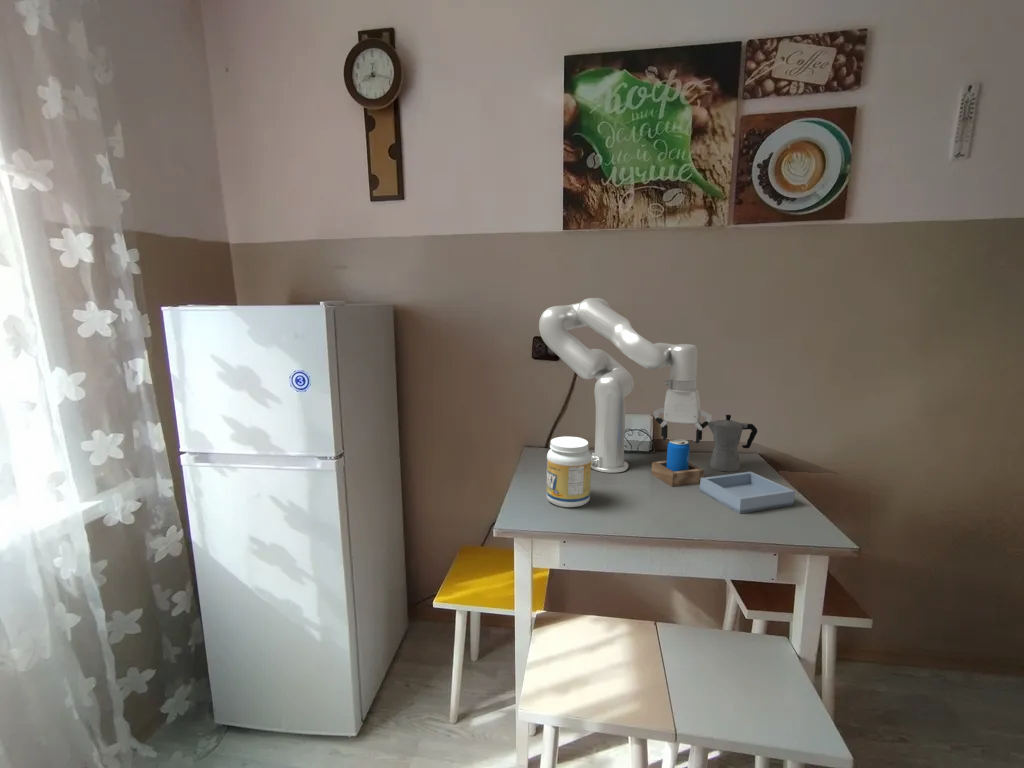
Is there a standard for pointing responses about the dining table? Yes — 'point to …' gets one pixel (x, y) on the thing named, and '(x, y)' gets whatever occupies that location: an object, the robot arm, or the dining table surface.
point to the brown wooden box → (677, 474)
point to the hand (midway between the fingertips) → (681, 440)
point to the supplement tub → (568, 472)
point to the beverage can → (678, 455)
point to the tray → (747, 492)
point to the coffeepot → (728, 443)
